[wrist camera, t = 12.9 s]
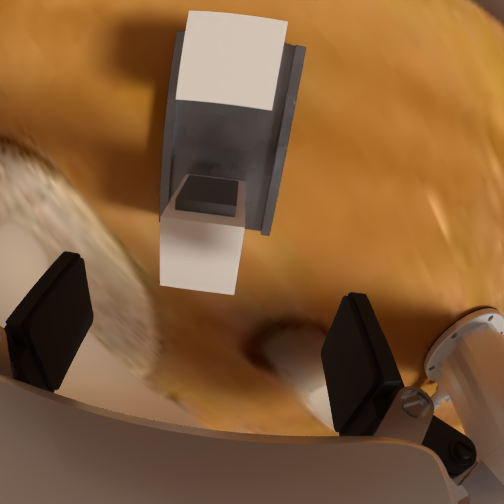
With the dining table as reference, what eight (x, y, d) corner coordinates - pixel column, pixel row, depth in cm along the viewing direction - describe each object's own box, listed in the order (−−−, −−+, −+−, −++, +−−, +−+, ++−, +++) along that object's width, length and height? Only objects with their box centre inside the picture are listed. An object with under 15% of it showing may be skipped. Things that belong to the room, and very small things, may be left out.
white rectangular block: (237, 233, 23) (234, 295, 17) (182, 227, 22) (160, 285, 16) (246, 172, 20) (246, 216, 14) (187, 165, 20) (160, 205, 14)
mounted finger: (262, 110, 18) (269, 124, 12) (198, 102, 18) (174, 113, 12) (274, 42, 16) (287, 21, 10) (208, 34, 16) (189, 10, 10)
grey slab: (269, 226, 24) (270, 236, 22) (162, 212, 23) (157, 221, 22) (303, 49, 17) (307, 47, 16) (180, 34, 16) (175, 31, 15)
